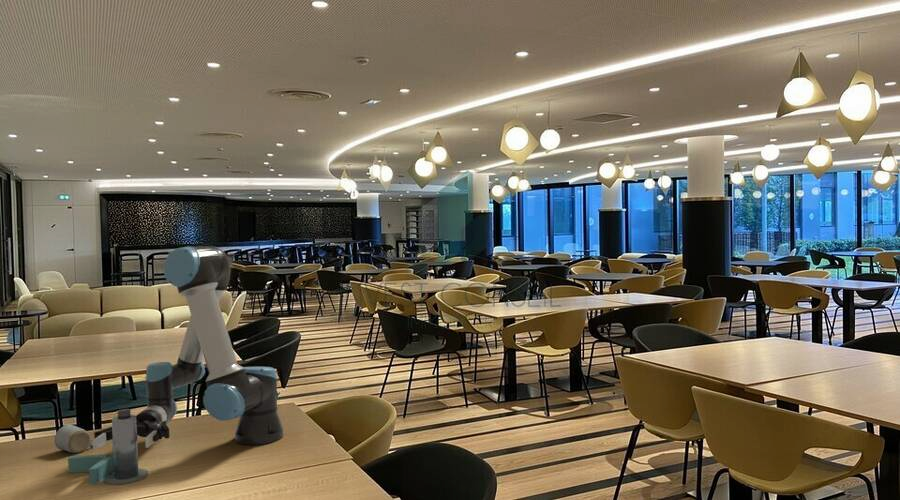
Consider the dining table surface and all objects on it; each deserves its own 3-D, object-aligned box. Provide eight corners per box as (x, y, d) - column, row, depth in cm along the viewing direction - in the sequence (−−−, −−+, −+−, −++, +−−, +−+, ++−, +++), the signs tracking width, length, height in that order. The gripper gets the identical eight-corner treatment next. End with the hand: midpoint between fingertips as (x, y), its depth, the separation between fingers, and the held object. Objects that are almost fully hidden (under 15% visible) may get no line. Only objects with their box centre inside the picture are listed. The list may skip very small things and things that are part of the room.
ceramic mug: (69, 456, 198) (69, 431, 198) (53, 452, 202) (53, 428, 202) (102, 447, 207) (102, 422, 207) (87, 443, 211) (87, 419, 211)
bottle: (141, 470, 183) (139, 407, 183) (133, 478, 177) (131, 413, 177) (119, 472, 183) (116, 408, 182) (110, 480, 177) (107, 414, 176)
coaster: (154, 468, 186) (154, 467, 186) (139, 483, 175) (139, 482, 175) (114, 470, 185) (113, 469, 185) (96, 485, 174) (96, 484, 174)
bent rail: (117, 467, 188) (116, 453, 188) (98, 483, 175) (97, 468, 175) (72, 469, 187) (71, 455, 186) (50, 486, 174) (49, 471, 174)
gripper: (192, 431, 199) (169, 455, 178) (106, 435, 197) (72, 460, 175) (191, 407, 199) (168, 427, 178) (105, 410, 196) (71, 432, 175)
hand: (120, 444), depth 176 cm, fingers open, 13 cm apart
